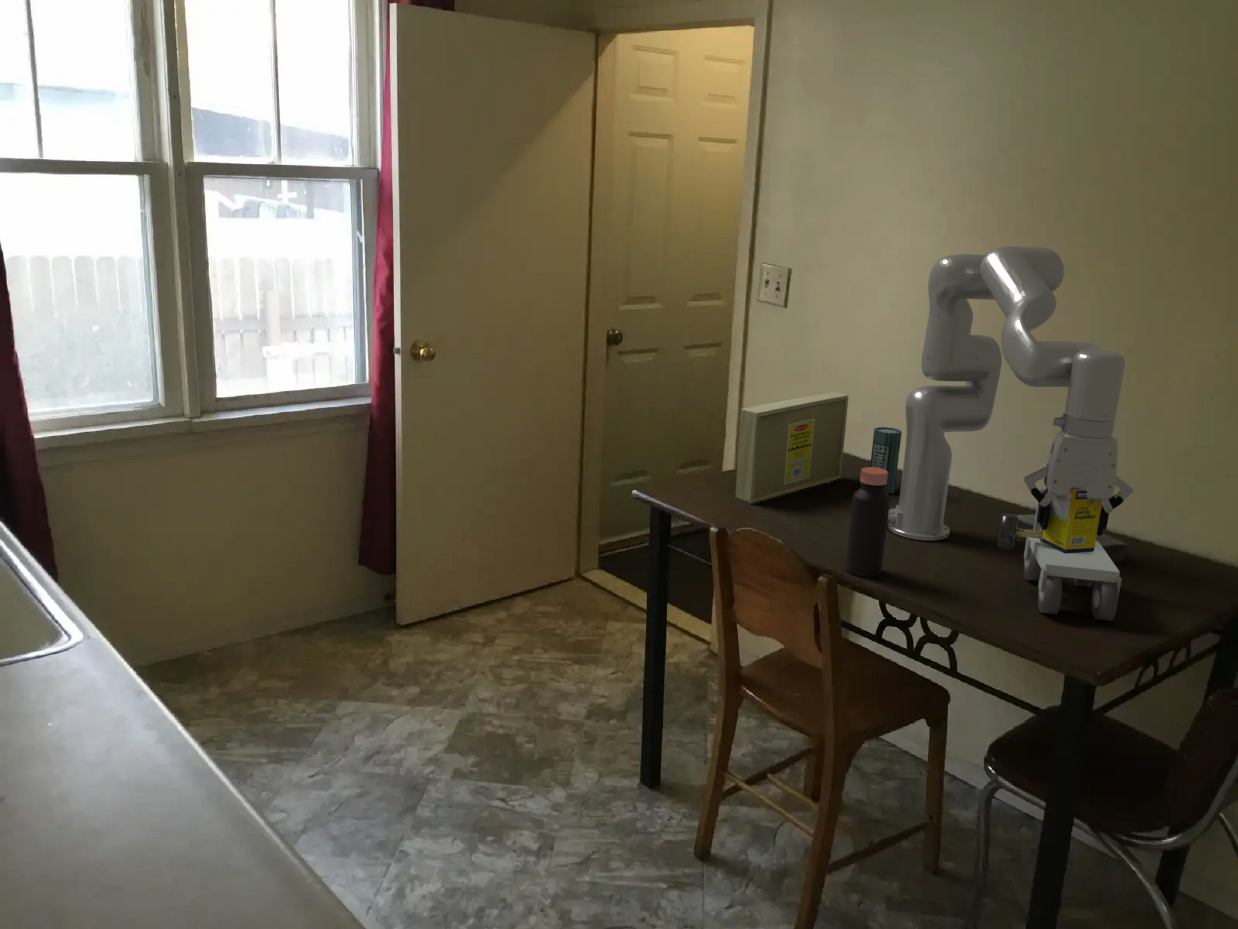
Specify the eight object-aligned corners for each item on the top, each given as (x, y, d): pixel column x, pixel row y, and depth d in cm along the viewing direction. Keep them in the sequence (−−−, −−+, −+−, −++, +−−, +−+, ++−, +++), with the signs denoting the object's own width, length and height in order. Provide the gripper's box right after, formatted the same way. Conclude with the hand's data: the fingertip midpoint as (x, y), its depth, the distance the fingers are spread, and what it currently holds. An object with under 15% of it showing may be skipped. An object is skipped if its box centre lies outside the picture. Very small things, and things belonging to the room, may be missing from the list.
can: (898, 490, 252) (905, 430, 248) (886, 495, 248) (893, 434, 244) (875, 485, 256) (882, 425, 252) (863, 490, 252) (870, 429, 248)
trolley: (1039, 618, 181) (1055, 520, 176) (1018, 571, 203) (1032, 482, 198) (1116, 627, 178) (1135, 528, 174) (1087, 579, 200) (1103, 489, 195)
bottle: (878, 580, 195) (890, 477, 189) (841, 573, 197) (852, 472, 192) (884, 568, 201) (896, 468, 196) (848, 562, 203) (859, 463, 198)
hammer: (998, 548, 192) (1003, 517, 191) (996, 543, 195) (1000, 512, 193) (1069, 555, 190) (1075, 524, 188) (1066, 550, 193) (1071, 520, 191)
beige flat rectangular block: (825, 476, 263) (834, 391, 257) (841, 480, 259) (850, 394, 253) (733, 500, 239) (740, 408, 234) (749, 505, 236) (756, 412, 230)
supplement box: (1094, 552, 171) (1106, 488, 168) (1064, 554, 170) (1075, 490, 167) (1070, 540, 177) (1080, 478, 174) (1040, 542, 175) (1050, 479, 172)
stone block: (1075, 570, 206) (1080, 545, 205) (1004, 537, 223) (1008, 515, 222) (1126, 563, 211) (1131, 539, 210) (1053, 532, 229) (1057, 510, 227)
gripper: (1034, 427, 166) (1018, 531, 171) (1152, 437, 163) (1132, 543, 167) (1027, 417, 173) (1011, 517, 178) (1139, 427, 170) (1120, 528, 174)
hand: (1070, 529), depth 173 cm, fingers closed on supplement box, 8 cm apart
